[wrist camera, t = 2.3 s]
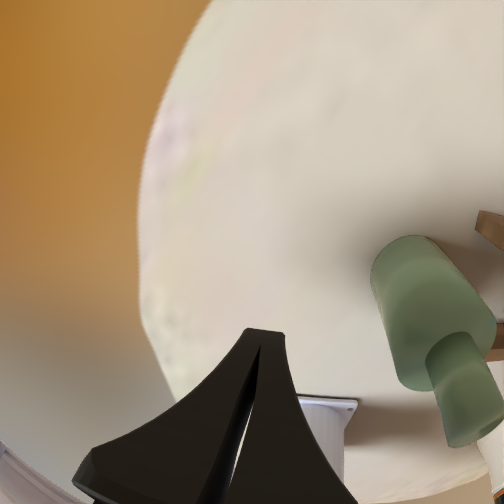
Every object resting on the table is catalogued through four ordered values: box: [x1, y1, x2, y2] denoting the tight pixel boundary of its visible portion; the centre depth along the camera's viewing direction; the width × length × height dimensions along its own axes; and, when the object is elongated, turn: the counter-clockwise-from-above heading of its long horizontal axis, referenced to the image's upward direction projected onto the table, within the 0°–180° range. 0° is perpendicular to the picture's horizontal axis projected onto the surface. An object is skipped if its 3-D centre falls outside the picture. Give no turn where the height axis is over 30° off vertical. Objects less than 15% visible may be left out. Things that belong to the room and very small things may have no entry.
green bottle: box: [371, 235, 504, 448], centre depth 11 cm, size 5×5×11 cm
